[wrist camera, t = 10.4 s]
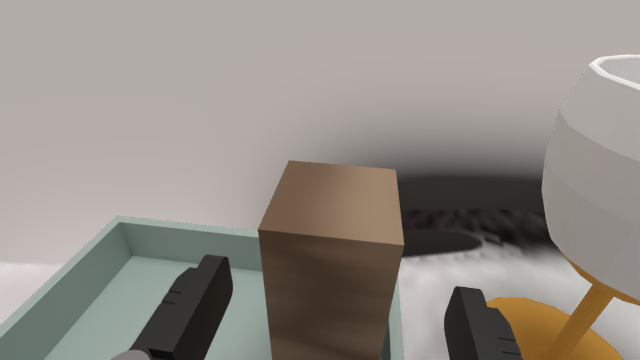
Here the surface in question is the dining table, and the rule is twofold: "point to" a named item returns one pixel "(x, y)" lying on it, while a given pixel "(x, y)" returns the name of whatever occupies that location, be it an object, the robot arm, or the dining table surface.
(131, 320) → the tray
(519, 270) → the dining table surface
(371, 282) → the walnut block
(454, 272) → the dining table surface
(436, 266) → the dining table surface
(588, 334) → the cup
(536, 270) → the dining table surface
